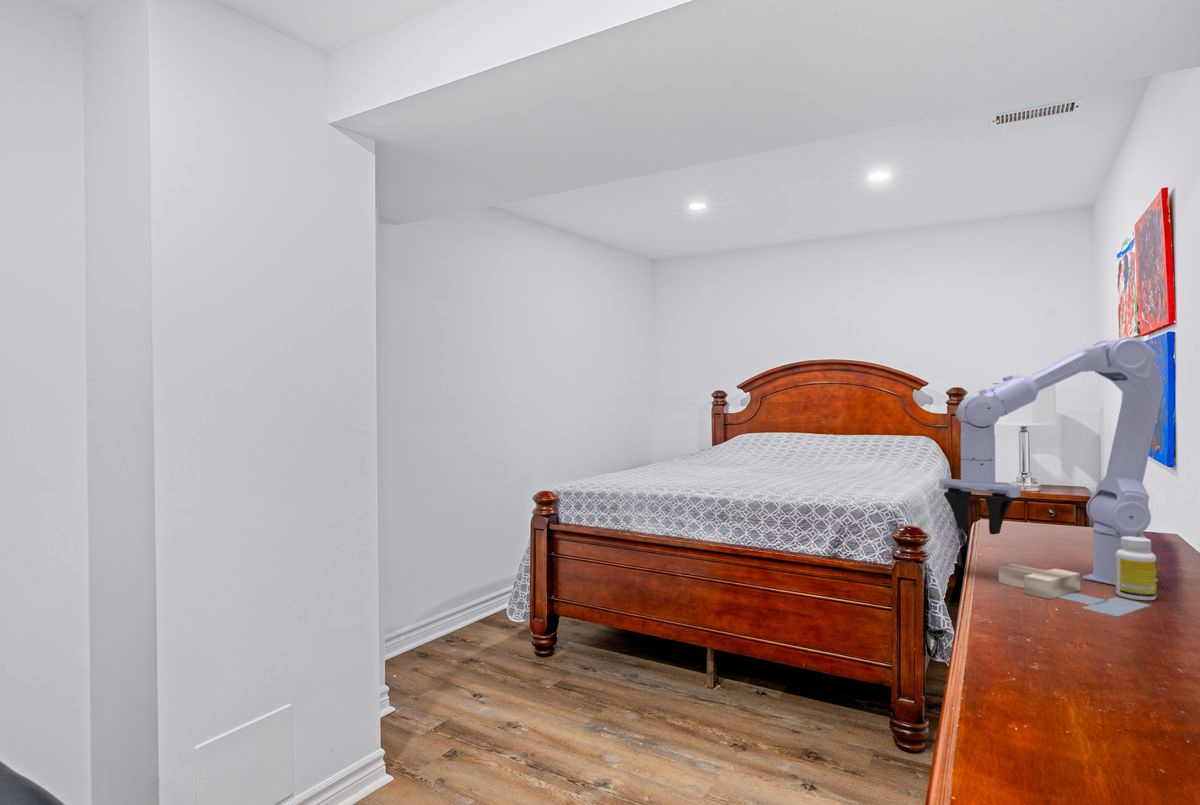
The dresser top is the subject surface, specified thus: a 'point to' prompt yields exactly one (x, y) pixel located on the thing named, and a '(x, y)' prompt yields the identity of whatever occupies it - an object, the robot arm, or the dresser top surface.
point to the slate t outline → (1106, 604)
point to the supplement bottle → (1136, 569)
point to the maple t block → (1040, 580)
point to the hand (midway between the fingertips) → (978, 530)
